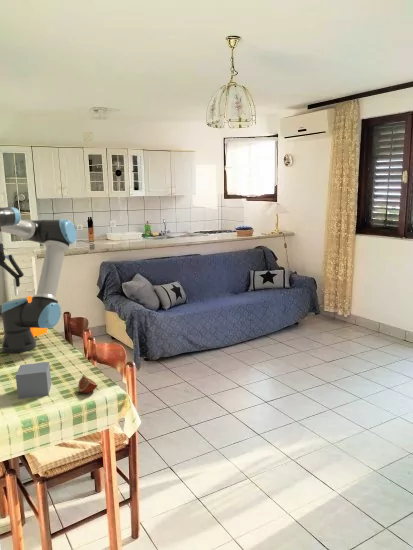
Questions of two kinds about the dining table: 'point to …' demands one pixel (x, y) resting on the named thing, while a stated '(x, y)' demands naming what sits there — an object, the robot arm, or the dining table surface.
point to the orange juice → (36, 330)
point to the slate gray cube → (33, 380)
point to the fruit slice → (86, 385)
